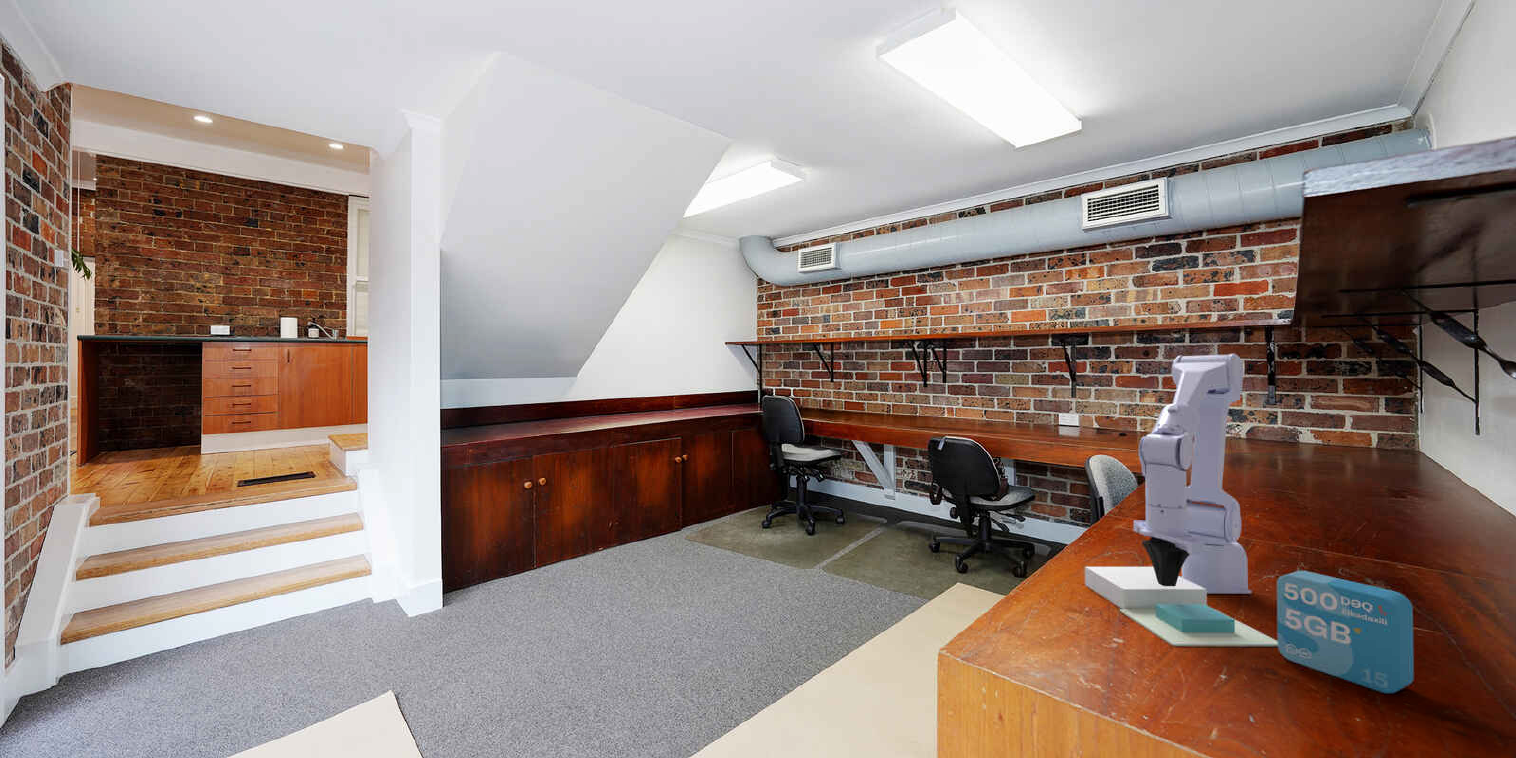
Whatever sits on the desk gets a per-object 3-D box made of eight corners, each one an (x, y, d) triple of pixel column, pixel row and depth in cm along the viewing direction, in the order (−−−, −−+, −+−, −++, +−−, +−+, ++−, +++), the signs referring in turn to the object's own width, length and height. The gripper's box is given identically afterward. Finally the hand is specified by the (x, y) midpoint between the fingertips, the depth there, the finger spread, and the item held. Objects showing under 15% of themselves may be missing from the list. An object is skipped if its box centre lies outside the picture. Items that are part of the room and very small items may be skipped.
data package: (1277, 657, 81) (1275, 572, 81) (1293, 650, 83) (1291, 567, 83) (1399, 699, 70) (1398, 600, 70) (1414, 690, 72) (1413, 594, 72)
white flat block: (1159, 585, 109) (1158, 566, 109) (1206, 609, 97) (1206, 589, 97) (1085, 584, 110) (1084, 566, 110) (1123, 609, 98) (1123, 589, 98)
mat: (1215, 611, 97) (1215, 609, 97) (1283, 646, 84) (1283, 644, 84) (1119, 610, 97) (1119, 609, 97) (1173, 646, 84) (1173, 644, 84)
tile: (1234, 619, 88) (1234, 632, 88) (1205, 604, 94) (1205, 616, 94) (1181, 619, 88) (1181, 632, 88) (1155, 604, 94) (1155, 616, 94)
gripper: (1116, 496, 104) (1117, 570, 104) (1171, 514, 90) (1172, 601, 90) (1155, 496, 104) (1156, 570, 104) (1217, 514, 90) (1218, 601, 90)
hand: (1166, 584), depth 97 cm, fingers closed
